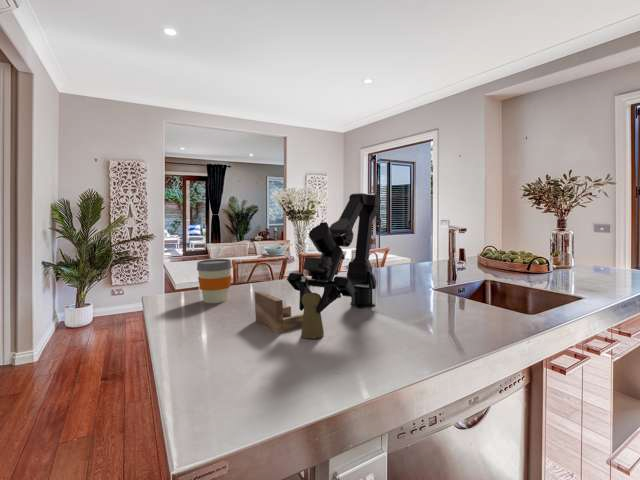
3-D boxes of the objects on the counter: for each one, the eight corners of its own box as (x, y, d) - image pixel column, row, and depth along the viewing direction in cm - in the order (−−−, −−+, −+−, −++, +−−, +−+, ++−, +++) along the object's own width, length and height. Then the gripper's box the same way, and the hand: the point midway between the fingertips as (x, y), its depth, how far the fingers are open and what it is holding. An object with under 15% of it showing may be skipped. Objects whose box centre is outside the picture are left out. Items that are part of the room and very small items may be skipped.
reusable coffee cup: (237, 300, 128) (236, 261, 127) (203, 306, 121) (201, 264, 120) (226, 294, 139) (225, 257, 137) (194, 299, 132) (192, 261, 130)
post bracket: (287, 314, 111) (286, 286, 110) (310, 325, 99) (310, 294, 98) (255, 320, 104) (254, 291, 104) (276, 333, 93) (275, 301, 92)
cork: (321, 339, 87) (320, 296, 86) (298, 337, 88) (297, 296, 87) (325, 330, 93) (324, 291, 92) (304, 329, 94) (303, 290, 93)
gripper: (289, 244, 97) (266, 291, 88) (349, 246, 87) (329, 299, 79) (305, 267, 104) (285, 312, 96) (361, 271, 95) (345, 322, 86)
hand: (309, 311), depth 89 cm, fingers closed on cork, 5 cm apart
